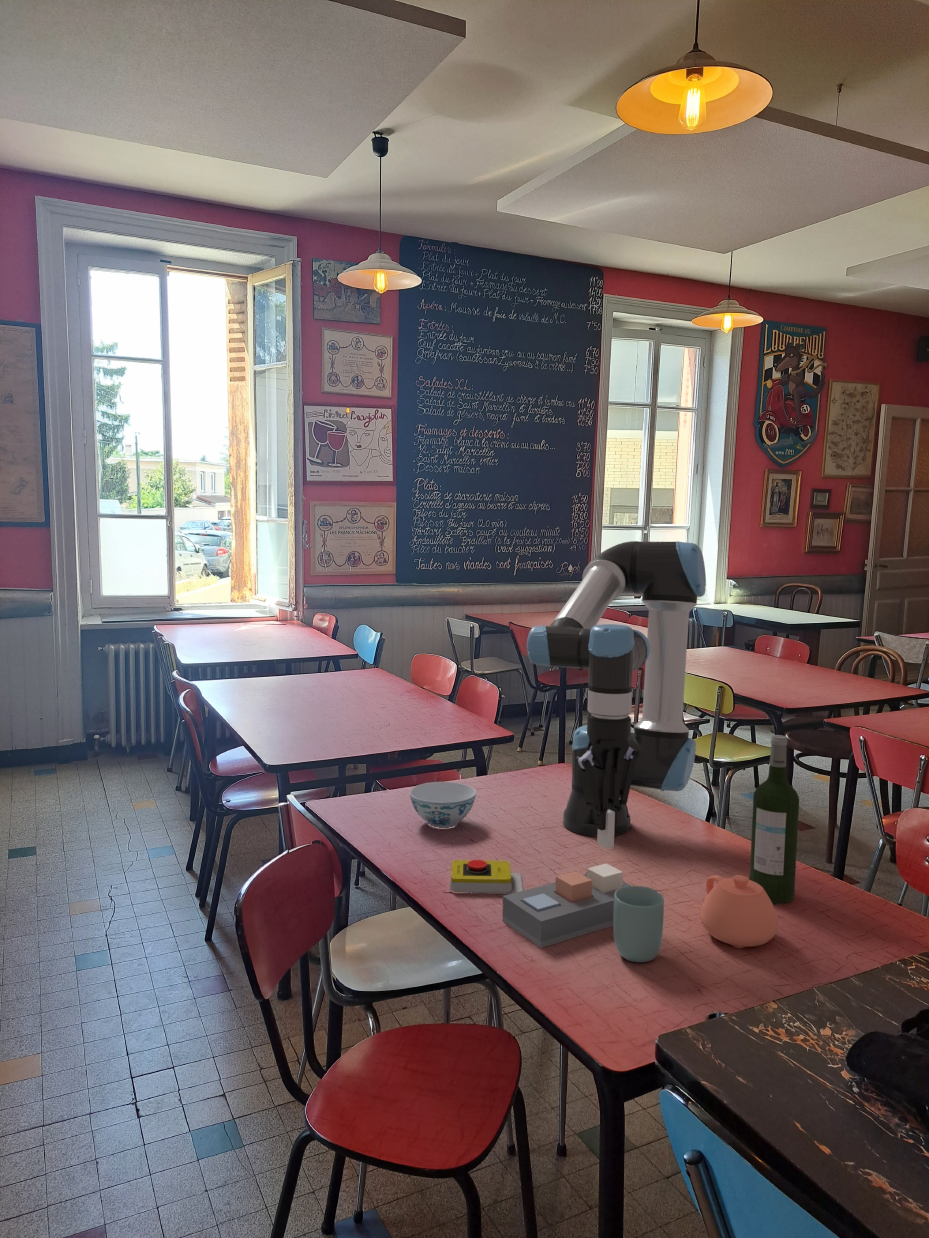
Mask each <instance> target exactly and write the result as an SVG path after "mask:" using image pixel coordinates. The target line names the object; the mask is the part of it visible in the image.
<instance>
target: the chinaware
mask: <svg viewBox="0 0 929 1238" xmlns="http://www.w3.org/2000/svg"><path fill="white" fill-rule="evenodd" d="M476 795H477V791H476V789H475V788H474V787H473V786H471V785H467V784H464V783H460V782H453V781H432V782H426V783H422V784H418V785H416V786H413V787H412V788H411V789H410V791H409V797H410V800H411V804H412V806H413V809H414V810H415V812H416V813H417V815H418V816H419V817H421V819H423V820H424V821H425V822H427V825H428V824H430V825H431V826H434V827H439V828H449V827H453V826H456V825H457V826H458V824H459V822H460V821H462V820H464V818H465V817H467V815H468V814H469V813H470V811H471V809H472V808H473V806H474V804H475V801H476ZM457 823H458V824H457ZM457 826H456V827H457Z"/></svg>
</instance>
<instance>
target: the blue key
mask: <svg viewBox="0 0 929 1238" xmlns="http://www.w3.org/2000/svg"><path fill="white" fill-rule="evenodd" d="M523 903H525V904H526V905H528V906H529V907H531V908H532V909H534V910H535V911H537V912H540V911H543V910H547V909H550V908H554V907H557V906H559V903H558V902H557V901H555V900H553V899H552V898H550V897H549V896H547V895H545V894H544V893H543V894H540V895H536V896H532V897H528V898H525V899H523Z"/></svg>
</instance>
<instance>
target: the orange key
mask: <svg viewBox="0 0 929 1238" xmlns="http://www.w3.org/2000/svg"><path fill="white" fill-rule="evenodd" d="M583 875H584V874H582V873H580V872H577V871H572V872H568V873H564V874H561V875H556V876H555V882H556V894H558V895H559V896H561V897H563V898H564V899H566V900H568V901H569V902H571V903H572V902H575V901H579V900H582V899H586V898H589V897H592V880H591V879H589V878H587V877H585V876H583Z"/></svg>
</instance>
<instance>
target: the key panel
mask: <svg viewBox="0 0 929 1238" xmlns="http://www.w3.org/2000/svg"><path fill="white" fill-rule="evenodd" d="M582 875H583V876H585V877H587V873H586V874H582ZM626 886H632V885H631V884H629V883H627V882H626V881H623V885H622V887H626ZM615 891H616V890H614V891H611V892H607V893H604V894H603V893H601V892H599V891H597V890H596V889H594V888H592V897H589V898H586V899H582V900H579V901H575V902H572V903H571V902H569V901H568V900H566V899H564V898H563V897H561V896H559V895H558V894H556V881H555V882H551V883H548V884H543V885H540V886H535V887H532V888H529V889H523V891H520V892H516V893H512V894H504V895H502V922H503V923H504V924H506V926H507V925H508V926H509V927H510V928H512V929H513V930H514V931H516V932H517V933H519V934H520V935H522V936H523V937H524V938H526V939H528V940H529V941H531V943H533V944H534V945H535V946H537V947H539V948H540V949H542V948H545V947H549V946H552V945H555V944H558V943H561V942H564V941H569V940H571V939H575V938H577V937H578V938H579V937H581V936H584V935H587V934H590V933H594V932H597V931H601V930H603V929H606V928H607V929H608V928H610V927H613V905H614V893H615ZM543 893H544V894H545V895H547V896H549V897H550V898H552V899H553V900H555V901H557V902H558V903H559V906H557V907H554V908H550V909H547V910H543V911H540V912H537V911H535V910H534V909H532V908H531V907H529V906H528V905H526V904H525V903H523V899H525V898H528V897H532V896H536V895H540V894H543Z"/></svg>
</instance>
